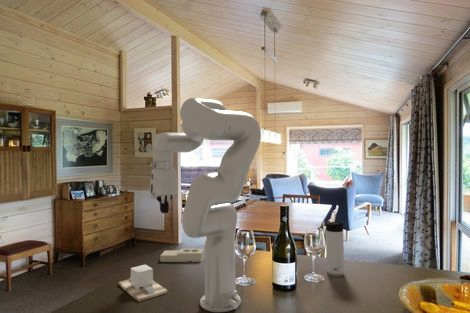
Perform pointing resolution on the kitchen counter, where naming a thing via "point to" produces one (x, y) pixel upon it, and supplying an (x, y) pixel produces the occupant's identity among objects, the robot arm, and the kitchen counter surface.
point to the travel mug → (334, 249)
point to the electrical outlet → (182, 255)
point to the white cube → (141, 276)
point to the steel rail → (147, 288)
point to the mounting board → (141, 294)
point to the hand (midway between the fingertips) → (164, 212)
